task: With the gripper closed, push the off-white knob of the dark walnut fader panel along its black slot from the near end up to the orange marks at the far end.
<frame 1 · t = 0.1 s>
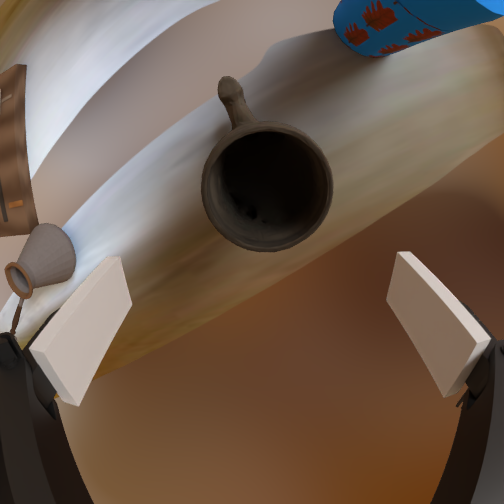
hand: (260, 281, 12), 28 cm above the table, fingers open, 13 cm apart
coffee pot: (54, 265, 44), on the table
thermos: (365, 27, 28), on the table
fader panel: (5, 153, 34), on the table
beer stein: (252, 146, 36), on the table
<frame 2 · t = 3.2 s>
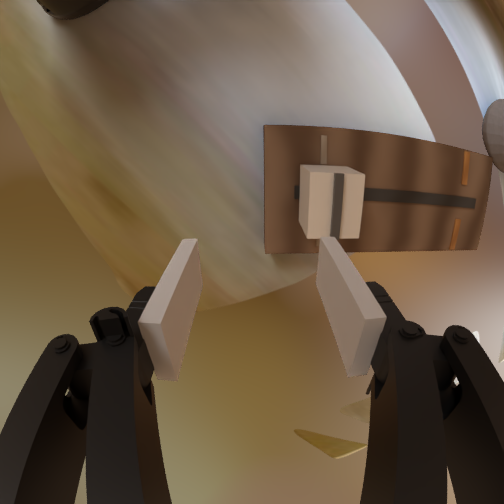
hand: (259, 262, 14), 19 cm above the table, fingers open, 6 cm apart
fader panel: (391, 190, 31), on the table
fader knob: (329, 200, 26), point 6 cm above the table, slide at -10.0 cm
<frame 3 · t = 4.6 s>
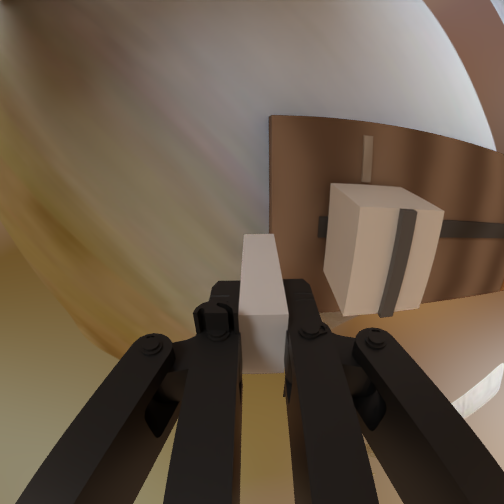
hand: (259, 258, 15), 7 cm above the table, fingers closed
fader panel: (444, 216, 20), on the table
fader knob: (379, 246, 15), point 6 cm above the table, slide at -10.0 cm
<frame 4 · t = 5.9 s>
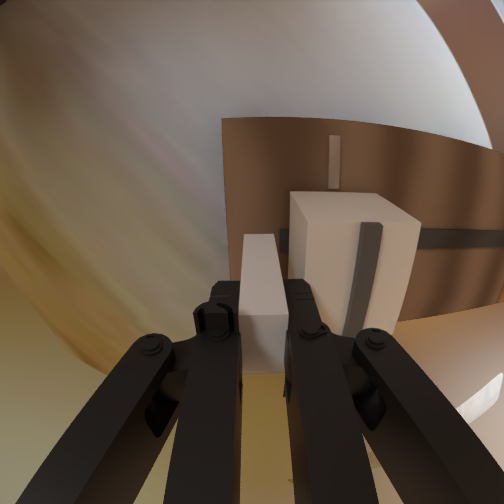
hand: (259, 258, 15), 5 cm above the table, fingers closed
fader panel: (433, 223, 19), on the table
fader knob: (344, 264, 13), point 6 cm above the table, slide at -10.0 cm, touching gripper
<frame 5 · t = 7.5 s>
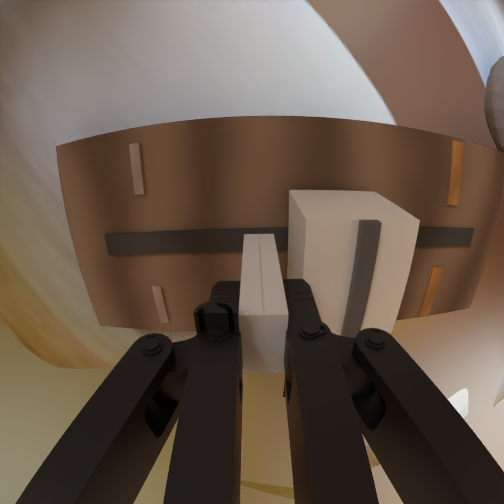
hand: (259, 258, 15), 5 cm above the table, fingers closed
fader panel: (304, 221, 19), on the table
fader knob: (343, 261, 13), point 6 cm above the table, slide at 1.0 cm, touching gripper
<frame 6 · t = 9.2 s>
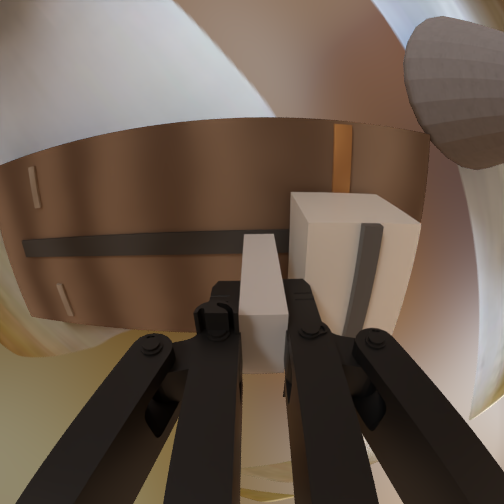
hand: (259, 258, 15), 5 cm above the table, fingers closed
coffee pot: (477, 137, 16), on the table
fader panel: (180, 225, 19), on the table
fader knob: (344, 264, 13), point 6 cm above the table, slide at 9.6 cm, touching gripper
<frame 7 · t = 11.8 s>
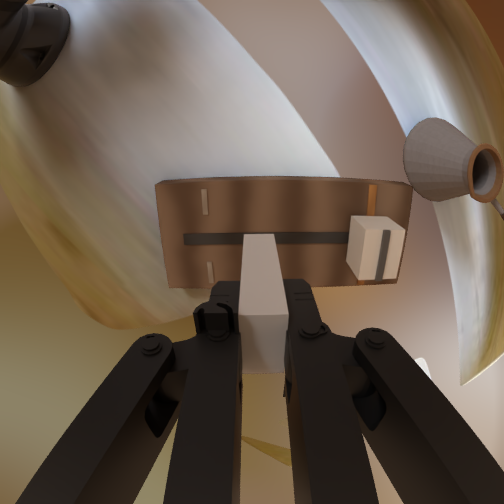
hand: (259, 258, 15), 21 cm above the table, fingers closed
coffee pot: (444, 180, 33), on the table
fader panel: (287, 229, 36), on the table
fader knob: (374, 247, 30), point 6 cm above the table, slide at 9.8 cm
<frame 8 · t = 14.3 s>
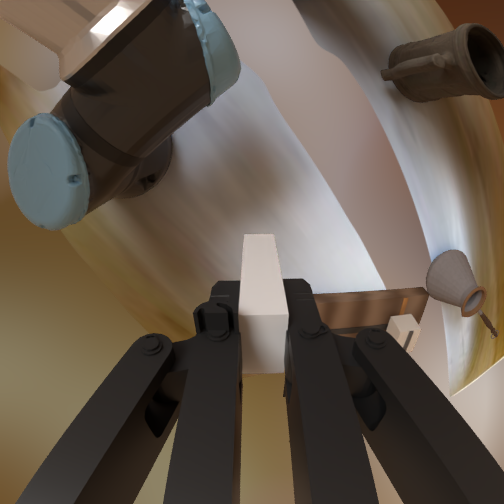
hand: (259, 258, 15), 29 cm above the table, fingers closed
coffee pot: (449, 279, 50), on the table
fader panel: (350, 320, 53), on the table
beer stein: (404, 76, 34), on the table
fader knob: (402, 335, 48), point 6 cm above the table, slide at 9.8 cm
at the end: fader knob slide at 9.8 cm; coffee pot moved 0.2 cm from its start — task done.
